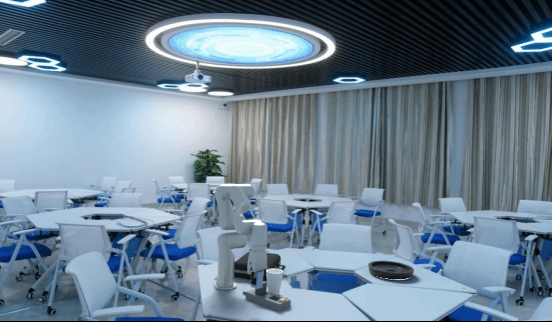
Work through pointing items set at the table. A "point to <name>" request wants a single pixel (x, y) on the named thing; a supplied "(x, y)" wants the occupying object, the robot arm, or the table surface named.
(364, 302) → the table surface
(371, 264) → the round tray
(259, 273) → the block
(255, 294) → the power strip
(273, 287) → the foam cup
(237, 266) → the briefcase
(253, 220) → the robot arm
